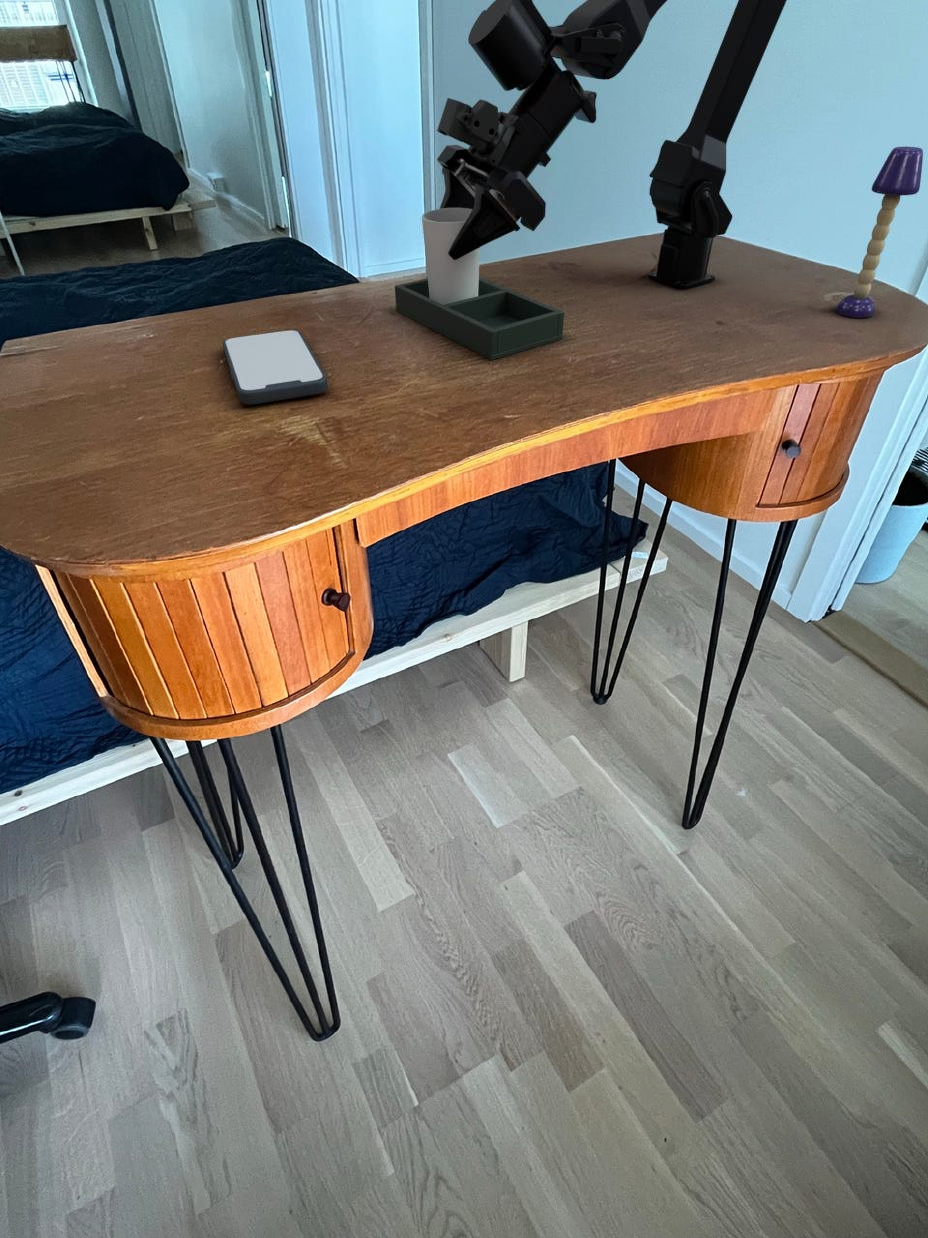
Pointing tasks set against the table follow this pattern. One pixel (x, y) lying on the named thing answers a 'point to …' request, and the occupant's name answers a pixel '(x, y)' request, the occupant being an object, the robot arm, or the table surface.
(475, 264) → the white cup
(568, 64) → the robot arm
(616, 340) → the table surface
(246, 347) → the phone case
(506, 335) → the tray
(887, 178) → the toy lamp
